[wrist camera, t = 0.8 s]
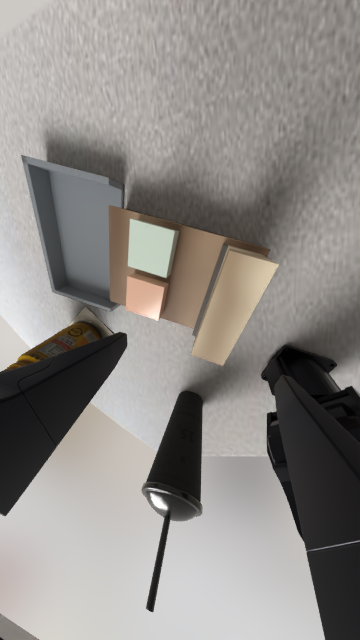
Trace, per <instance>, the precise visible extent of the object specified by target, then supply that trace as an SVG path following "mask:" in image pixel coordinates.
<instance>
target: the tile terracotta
mask: <svg viewBox="0 0 360 640" xmlns="http://www.w3.org/2000/svg"><path fill="white" fill-rule="evenodd" d="M168 285H169V283H166V282H163V281H159V280H156V279H153V278H150V277H147V276H143V275H140V274H137V273H133V274H131V275H128V276H127V293H126V310H128V311H131V312H134V313H137V314H140V315H143V316H146V317H149V318H152V319H155V320H159V319H160V318H161V316H162V315H163V310H164V305H165V300H166V295H167V290H168Z"/></svg>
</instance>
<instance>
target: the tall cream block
mask: <svg viewBox="0 0 360 640" xmlns="http://www.w3.org/2000/svg"><path fill="white" fill-rule="evenodd" d="M278 266H279V264H277V263H276V262H274V261H272V260H271V259H269V258H267V257H265V256H264V255H262V254H259V253H256V252H252V251H248V250H245V249H241V248H238V247H234V246H230V245H227V244H223V246H222V248H221V251H220V254H219V257H218V260H217V263H216V266H215V269H214V272H213V275H212V278H211V281H210V283H209V286H208V289H207V292H206V295H205V298H204V301H203V304H202V307H201V310H200V313H199V316H198V318H197V321H196V324H195V327H194V331H193V334H192V335H194V336H196V337H195V341H194V345H193V349H192V353H191V355H193V356H196V357H199V358H202V359H204V360H207V361H210V362H213V363H216V364H219V365H222V366H223V365H224V363H225V361H226V359H227V358H228V356H229V354H230V352H231V350H232V349H233V347H234V345H235V343H236V341H237V340H238V338H239V336H240V334H241V332H242V331H243V329H244V327H245V325H246V323H247V322H248V320H249V318H250V316H251V314H252V312H253V311H254V309H255V307H256V305H257V303H258V302H259V300H260V298H261V296H262V294H263V293H264V291H265V289H266V287H267V285H268V284H269V282H270V280H271V278H272V276H273V275H274V273H275V271H276V269H277V267H278Z"/></svg>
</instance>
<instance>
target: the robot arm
mask: <svg viewBox="0 0 360 640" xmlns="http://www.w3.org/2000/svg"><path fill="white" fill-rule="evenodd" d="M126 347H127V334H126V333H122V332H118V333H116V334H113V335H110V336H107V337H105V338H102V339H99V340H96V341H94V342H91V343H88V344H85V345H83V346H80V347H77V348H74V349H72V350H69V351H66V352H63V353H60V354H58V355H57V356H56V355H55V356H52V357H49V358H47V359H44V360H41V361H38V362H35V363H32V364H29V365H26V366H23V367H19V368H16V369H13V370H10V371H6V372H3V373H0V514H1V515H3V516H6V515H7V514H8V512H9V511H10V510H11V509H12V507H13V506H14V505H15V503H16V502H17V501H18V499H19V497H20V496H21V495H22V494H23V492H24V491H25V490H26V488H27V487H28V486H29V484H30V483H31V481H32V480H33V479H34V477H35V476H36V474H37V473H38V472H39V471H40V469H41V468H42V466H43V465H44V463H45V462H46V461H47V460H48V458H49V457H50V456H51V454H52V453H53V451H54V450H55V449H56V447H57V446H58V444H59V443H60V442H61V440H62V439H63V438H64V436H65V435H66V434H67V432H68V431H69V429H70V428H71V427H72V425H73V424H74V423H75V421H76V420H77V419H78V417H79V416H80V414H81V413H82V412H83V410H84V409H85V408H86V406H87V405H88V404H89V402H90V401H91V399H92V398H93V397H94V395H95V394H96V393H97V391H98V390H99V389H100V387H101V386H102V384H103V383H104V382H105V380H106V379H107V378H108V376H109V375H110V374H111V372H112V371H113V369H114V368H115V366H116V365H117V363H118V361H119V360H120V358H121V356H122V354H123V353H124V351H125V349H126ZM286 349H288V350H286ZM336 366H337V364H336V362H335V361H333V360H331V359H327V358H324V357H321V356H318V355H315V354H312V353H309V352H306V351H303V350H300V349H297V348H294V347H291V346H283V347H282V349H281V350H280V351H279V352H278V354H277V355H276V356H275V357H274V358H273V359H272V360H271V362H270V363H269V364H268V365H267V367H266V368H265V370H264V372H263V373H262V374H261V378H262V379H263V380H266V381H268V383H269V387H270V390H271V393H272V395H274V396H275V400H276V409H277V411H276V412H273V413H272V412H270V413H267V453H268V455H269V457H270V460H271V463H272V466H273V469H274V471H275V473H276V475H277V477H278V479H279V480H280V483H281V485H282V487H283V489H284V492H285V494H286V496H287V500H288V502H289V505H290V508H291V511H292V514H293V517H294V520H295V523H296V526H297V530H298V532H299V534H300V536H301V537H302V539H303V541H304V543H305V548H306V551H307V558H308V562H309V567H310V571H311V576H312V581H313V585H314V590H315V594H316V599H317V603H318V608H319V613H320V617H321V622H322V626H323V631H324V636H325V640H360V394H359V393H358V392H357V391H356V390H355V389H354V388H353V387H352V386H350V387H347V388H345V389H344V390H341V389H340V388H339V387H338V385H337V384H336V383H335V381H334V380H333V379H332V377H331V376H330V374H329V372H330V371H331V370H333V369H334V368H335V367H336ZM265 376H266V377H265ZM0 640H39V639H37V638H36V637H34V636H33V635H31V634H30V633H28V632H27V631H25V630H24V629H22V628H21V627H19V626H17V625H16V624H15V623H13V622H12V621H10V620H9V619H7V618H6V617H4V616H3V615H1V614H0Z"/></svg>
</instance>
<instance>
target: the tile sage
mask: <svg viewBox="0 0 360 640" xmlns="http://www.w3.org/2000/svg"><path fill="white" fill-rule="evenodd" d="M178 234H179V231H177V230H173V229H170V228H166V227H163V226H159V225H155V224H152V223H148V222H145V221H141V220H137V219H130V229H129V250H128V266H129V267H132V268H135V269H139V270H142V271H145V272H148V273H152V274H155V275H158V276H161V277H165V278H167V277H168V276H169V275H170V274H171V270H172V265H173V260H174V255H175V250H176V245H177V239H178Z"/></svg>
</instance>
